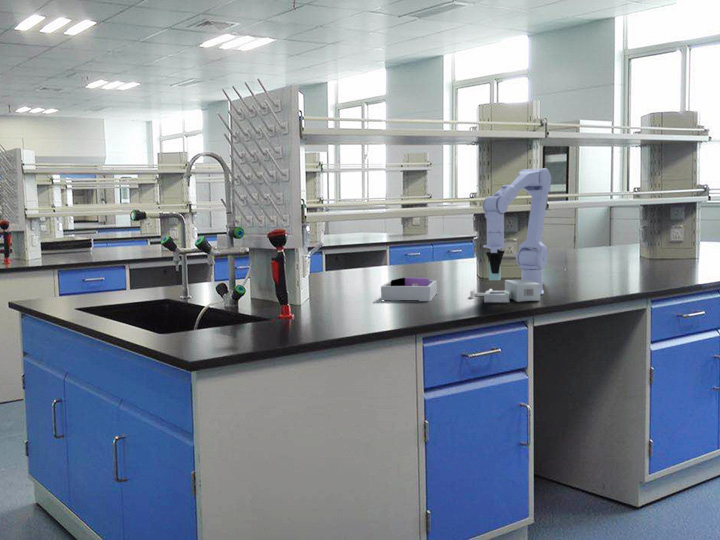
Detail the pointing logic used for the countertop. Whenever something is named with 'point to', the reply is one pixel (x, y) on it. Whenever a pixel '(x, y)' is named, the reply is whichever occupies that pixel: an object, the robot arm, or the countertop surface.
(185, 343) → the countertop surface
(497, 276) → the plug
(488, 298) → the port
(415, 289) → the holder corral
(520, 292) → the skincare box
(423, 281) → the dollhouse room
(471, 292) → the holster
